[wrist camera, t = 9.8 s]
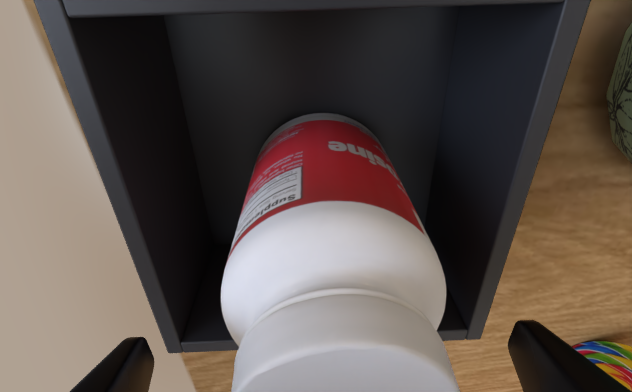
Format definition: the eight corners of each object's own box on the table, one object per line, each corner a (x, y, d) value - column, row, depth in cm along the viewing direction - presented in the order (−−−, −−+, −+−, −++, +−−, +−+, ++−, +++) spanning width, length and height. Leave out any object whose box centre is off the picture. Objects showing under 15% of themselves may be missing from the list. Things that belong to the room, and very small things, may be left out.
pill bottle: (411, 181, 17) (549, 430, 7) (311, 245, 19) (319, 512, 9) (334, 77, 14) (396, 255, 5) (226, 163, 16) (117, 417, 7)
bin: (207, 246, 19) (167, 354, 14) (146, -13, 13) (26, -13, 7) (429, 236, 19) (480, 339, 14) (473, -23, 13) (602, -30, 8)
